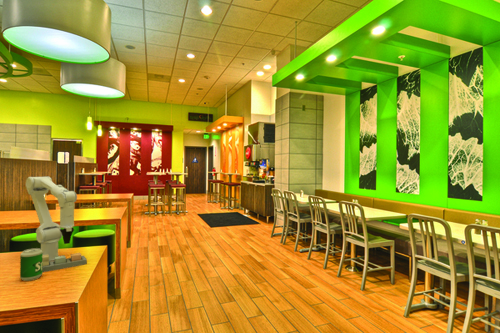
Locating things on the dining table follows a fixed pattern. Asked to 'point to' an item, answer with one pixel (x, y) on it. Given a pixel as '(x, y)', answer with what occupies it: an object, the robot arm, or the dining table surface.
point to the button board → (64, 264)
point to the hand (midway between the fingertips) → (66, 243)
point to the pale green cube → (60, 259)
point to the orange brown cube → (75, 257)
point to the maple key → (45, 260)
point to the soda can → (31, 264)
